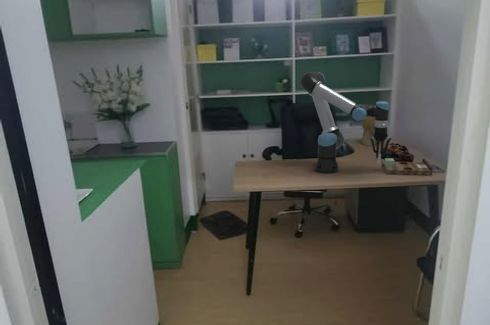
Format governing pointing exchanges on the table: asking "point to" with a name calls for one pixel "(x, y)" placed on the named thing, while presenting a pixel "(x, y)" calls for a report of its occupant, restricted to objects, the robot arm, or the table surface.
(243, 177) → the table surface
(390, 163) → the block
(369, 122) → the bust
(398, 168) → the board
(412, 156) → the character figurine
